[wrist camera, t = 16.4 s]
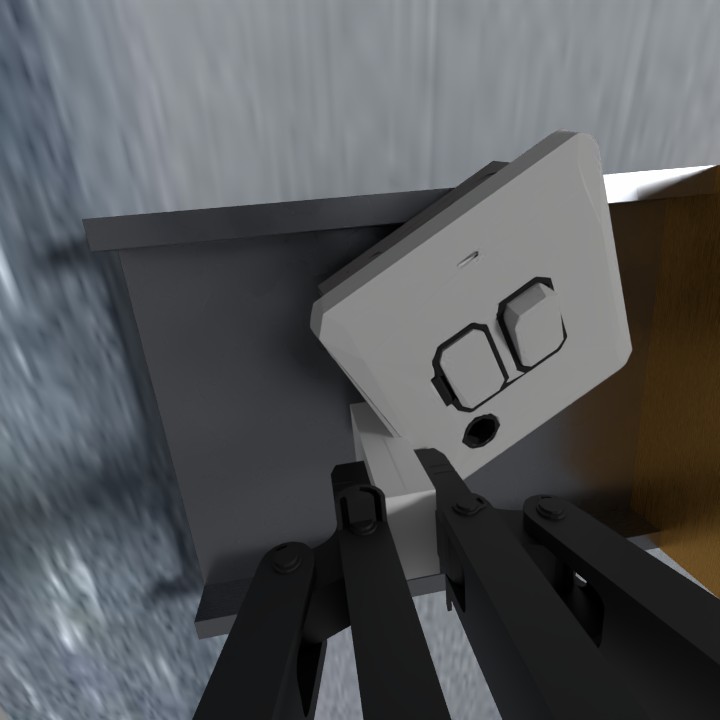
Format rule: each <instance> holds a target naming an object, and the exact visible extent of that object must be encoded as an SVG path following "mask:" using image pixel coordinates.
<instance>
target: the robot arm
mask: <svg viewBox="0 0 720 720" xmlns="http://www.w3.org/2000/svg"><path fill="white" fill-rule="evenodd" d="M350 410H351V419H352V427H353V436H354V445H355V453H356V462H351V463H345V464H339V465H335V467H334V469H333V471H332V473H331V481H332V488H333V496H334V505H335V513H336V520H337V527H336V530H335V532H334V533H333V535H332V536H331V537H330V538H329V539H328V540H327V541H326V542H324V543H322V544H320V545H319V546H317V547H314V548H312V549H311V548H310V547H309V546H308V545H306V544H304V543H302V542H295V541H293V542H286V543H282V544H280V545H278V546H275V547H273V548H272V549H271V550H270V551H268V552H267V553H266V554H265V555H264V557H263V558H262V560H261V561H260V563H259V566H258V568H257V570H256V572H255V575H254V577H253V579H252V582H251V584H250V586H249V589H248V591H247V593H246V596H245V598H244V600H243V603H242V605H241V607H240V610H239V612H238V614H237V617H236V619H235V621H234V624H233V626H232V628H231V631H230V633H229V635H228V638H227V640H226V642H225V645H224V647H223V649H222V652H221V654H220V656H219V659H218V661H217V663H216V665H215V668H214V670H213V672H212V675H211V677H210V679H209V682H208V684H207V686H206V689H205V691H204V693H203V696H202V698H201V700H200V703H199V705H198V707H197V710H196V712H195V714H194V717H193V719H192V720H314V716H315V710H316V705H317V699H318V694H319V688H320V682H321V677H322V671H323V665H324V660H325V654H326V648H327V639H328V638H329V637H331V636H333V635H335V634H336V633H338V632H340V631H342V630H343V629H345V628H347V627H349V626H350V625H351V630H352V638H353V645H354V653H355V660H356V667H357V675H358V682H359V689H360V697H361V704H362V712H363V719H364V720H451V717H450V714H449V711H448V708H447V705H446V702H445V699H444V696H443V692H442V689H441V686H440V683H439V680H438V677H437V674H436V671H435V668H434V664H433V661H432V658H431V655H430V652H429V649H428V646H427V643H426V640H425V637H424V633H423V630H422V627H421V624H420V621H419V618H418V615H417V612H416V609H415V605H414V602H413V599H412V596H411V593H410V590H409V587H408V584H407V581H406V580H409V579H414V578H419V577H424V576H429V575H434V574H439V573H440V564H439V559H440V561H441V563H442V565H443V567H444V570H445V583H446V604H447V609H448V611H451V610H452V604H451V601H452V602H453V605H454V607H455V609H456V612H457V614H458V616H459V619H460V621H461V623H462V626H463V628H464V630H465V633H466V635H467V638H468V640H469V642H470V645H471V647H472V649H473V652H474V654H475V656H476V659H477V661H478V663H479V666H480V668H481V670H482V673H483V675H484V677H485V680H486V682H487V684H488V687H489V689H490V691H491V694H492V696H493V698H494V701H495V703H496V706H497V708H498V710H499V713H500V715H501V717H502V720H720V599H718V598H717V597H715V596H714V595H712V594H710V593H709V592H707V591H706V590H704V589H703V588H701V587H700V586H698V585H697V584H695V583H694V582H692V581H690V580H689V579H687V578H686V577H684V576H683V575H681V574H680V573H678V572H677V571H675V570H674V569H672V568H670V567H669V566H667V565H666V564H664V563H663V562H661V561H660V560H658V559H657V558H655V557H654V556H652V555H650V554H649V553H647V552H646V551H644V550H643V549H641V548H640V547H638V546H637V545H635V544H634V543H632V542H630V541H629V540H627V539H626V538H624V537H623V536H621V535H620V534H618V533H617V532H615V531H614V530H612V529H610V528H609V527H607V526H606V525H604V524H603V523H601V522H600V521H598V520H597V519H595V518H594V517H592V516H590V515H589V514H587V513H586V512H584V511H583V510H581V509H580V508H578V507H577V506H575V505H574V504H572V503H570V502H569V501H567V500H565V499H563V498H561V497H557V496H553V495H543V494H539V495H534V496H531V497H529V498H528V499H526V500H525V502H524V504H523V510H505V509H497V508H494V507H493V506H492V505H491V503H490V502H489V501H488V500H486V499H485V498H484V497H482V496H480V495H478V494H475V493H471V491H470V490H469V488H468V487H467V486H466V484H465V483H464V481H463V480H462V478H461V477H460V476H459V474H458V473H457V471H455V468H454V467H453V466H452V464H450V461H449V460H448V458H447V457H446V456H445V454H443V453H442V452H440V451H438V450H437V449H435V448H430V449H423V450H417V451H414V450H413V448H412V447H411V445H410V443H409V441H408V440H407V438H406V437H395V438H394V436H393V435H392V434H391V432H390V431H389V430H388V429H387V427H386V426H385V425H384V423H383V422H382V421H381V419H380V418H379V417H378V415H377V414H376V413H375V412H374V410H373V409H372V408H371V406H370V405H369V404H368V402H362V403H356V404H350ZM576 573H577V574H579V575H580V576H581V577H582V578H583V579H585V580H586V581H587V583H585V582H583V581H581V580H580V579H579V578H578V577H576V576H575V575H576Z"/></svg>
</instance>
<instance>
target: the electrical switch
mask: <svg viewBox="0 0 720 720" xmlns="http://www.w3.org/2000/svg"><path fill="white" fill-rule="evenodd" d="M348 271H349V272H348ZM347 272H348V273H347ZM318 288H319V289H320V291H321V292H322V294H323V295H324V296H323V295H322V294H321V293H320V292H319V293H320V294H321V296H322V297H321V298H320V299H319V300H317V301H316V302H314V303H313V308H312V313H311V321H310V328H311V329H312V331H313V332H314V334H315V336H316V337H317V338H318V339H319V340H320V341H321V343H322V344H323V345H324V347H325V348H326V349H327V351H328V352H329V354H330V355H331V356H332V358H333V359H335V361H336V362H337V363H338V364H339V366H340V367H341V368H342V370H343V371H344V372H345V374H346V375H347V376H348V378H349V379H350V380H351V381H352V383H353V384H354V385H355V387H356V388H357V389H358V391H359V392H360V393H361V395H362V396H363V397H364V398H365V400H366V401H367V402H368V404H369V405H370V406H371V408H372V409H373V410H374V412H375V413H376V414H377V415H378V417H379V418H380V419H381V421H382V422H383V423H384V425H385V426H386V427H387V429H388V430H389V431H390V432H391V434H392V435H393V436H394V438H395V437H406V438H407V440H408V441H409V443H410V445H411V447H412V448H413V450H414V451H417V450H423V449H430V448H435V449H437V450H438V451H440V452H442V453H443V454H445V456H446V457H447V458H448V460H449V461H450V464H452V466H453V467H454V468H455V471H457V473H458V474H459V476H460V477H461V478H462V480H464V479H465V478H467V477H468V476H470V475H471V474H472V473H474V472H475V471H477V470H478V469H479V468H481V467H482V466H484V465H485V464H486V463H488V462H489V461H491V460H492V459H494V458H495V457H496V456H498V455H499V454H501V453H502V452H503V451H505V450H506V449H508V448H509V447H511V446H512V445H513V444H515V443H516V442H518V441H519V440H520V439H522V438H523V437H525V436H526V435H528V434H529V433H530V432H532V431H533V430H535V429H536V428H537V427H539V426H540V425H542V424H543V423H545V422H546V421H547V420H549V419H550V418H552V417H553V416H554V415H556V414H557V413H559V412H560V411H561V410H563V409H564V408H566V407H567V406H569V405H570V404H571V403H573V402H574V401H576V400H577V399H578V398H580V397H581V396H583V395H584V394H586V393H587V392H588V391H590V390H591V389H593V388H594V387H595V386H597V385H598V384H600V383H601V382H603V381H604V380H605V379H607V378H608V377H610V376H611V375H612V374H614V373H615V372H617V371H618V370H619V369H621V368H622V367H623V366H624V365H625V364H626V362H627V360H628V358H629V356H630V354H631V352H632V346H631V340H630V334H629V328H628V322H627V316H626V310H625V304H624V298H623V292H622V286H621V280H620V274H619V267H618V261H617V255H616V249H615V243H614V237H613V231H612V225H611V218H610V212H609V206H608V200H607V194H606V188H605V182H604V176H603V170H602V163H601V157H600V151H599V145H598V142H597V141H596V139H595V138H594V137H593V135H592V134H585V133H578V132H570V131H566V130H564V129H563V128H562V129H560V130H558V131H556V132H554V133H552V134H550V135H549V136H547V137H546V138H545V139H543V140H542V141H540V142H539V143H538V144H536V145H535V146H533V147H532V148H531V149H529V150H528V151H526V152H525V153H524V154H522V155H521V156H519V157H518V158H517V159H515V160H514V161H512V162H511V163H508V162H499V161H492V162H491V163H489V164H488V165H487V166H485V167H484V168H482V169H481V170H480V171H478V172H477V173H475V174H474V175H473V176H471V177H470V178H468V179H467V180H466V181H464V182H463V183H461V184H460V185H459V186H457V187H456V188H454V189H453V190H452V191H450V192H449V193H447V194H446V195H445V196H443V197H442V198H440V199H439V200H438V201H436V202H435V203H433V204H432V205H430V206H429V207H428V208H426V209H425V210H423V211H422V212H421V213H419V214H418V215H416V216H415V217H414V218H412V219H411V220H409V221H408V222H407V223H405V224H404V225H402V226H401V227H400V228H398V229H397V230H395V231H394V232H393V233H391V234H390V235H388V236H387V237H386V238H384V239H383V240H381V241H380V242H379V243H377V244H376V245H374V246H373V247H372V248H370V249H369V250H367V251H366V252H364V253H363V254H362V255H360V256H359V257H357V258H356V259H355V260H353V261H352V262H350V263H349V264H348V265H346V266H345V267H343V268H342V269H341V270H339V271H338V272H336V273H335V274H334V275H332V276H331V277H329V278H328V279H327V280H325V281H324V282H322V283H321V284H320V285H318Z"/></svg>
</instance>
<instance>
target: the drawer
mask: <svg viewBox="0 0 720 720" xmlns="http://www.w3.org/2000/svg"><path fill="white" fill-rule="evenodd" d="M603 176H604V182H605V188H606V194H607V200H608V206H609V212H610V218H611V225H612V231H613V237H614V243H615V249H616V255H617V261H618V267H619V274H620V280H621V286H622V292H623V298H624V304H625V310H626V316H627V322H628V328H629V334H630V340H631V346H632V352H631V354H630V356H629V358H628V360H627V362H626V364H625V365H624V366H623V367H622V368H621V369H619V370H618V371H617V372H615V373H614V374H612V375H611V376H610V377H608V378H607V379H605V380H604V381H603V382H601V383H600V384H598V385H597V386H595V387H594V388H593V389H591V390H590V391H588V392H587V393H586V394H584V395H583V396H581V397H580V398H578V399H577V400H576V401H574V402H573V403H571V404H570V405H569V406H567V407H566V408H564V409H563V410H561V411H560V412H559V413H557V414H556V415H554V416H553V417H552V418H550V419H549V420H547V421H546V422H545V423H543V424H542V425H540V426H539V427H537V428H536V429H535V430H533V431H532V432H530V433H529V434H528V435H526V436H525V437H523V438H522V439H520V440H519V441H518V442H516V443H515V444H513V445H512V446H511V447H509V448H508V449H506V450H505V451H503V452H502V453H501V454H499V455H498V456H496V457H495V458H494V459H492V460H491V461H489V462H488V463H486V464H485V465H484V466H482V467H481V468H479V469H478V470H477V471H475V472H474V473H472V474H471V475H470V476H468V477H467V478H465V479H464V480H463V481H464V483H465V484H466V486H467V487H468V488H469V490H470V491H471V493H475V494H478V495H480V496H482V497H484V498H485V499H486V500H488V501H489V502H490V503H491V505H492V506H493V507H494V508H497V509H505V510H523V504H524V502H525V500H526V499H528V498H529V497H531V496H534V495H539V494H543V495H553V496H557V497H561V498H563V499H565V500H567V501H569V502H570V503H572V504H574V505H575V506H577V507H578V508H580V509H581V510H583V511H584V512H586V513H587V514H589V515H590V516H592V517H594V518H595V519H597V520H598V521H600V522H601V523H603V524H604V525H606V526H607V527H609V528H610V529H612V530H614V531H615V532H617V533H618V534H620V535H621V536H623V537H624V538H626V539H627V540H629V541H630V542H632V543H634V544H635V545H637V546H638V547H640V548H641V549H643V550H649V549H654V548H660V549H661V550H662V551H663V552H664V553H666V554H667V555H668V556H669V557H670V558H672V559H673V560H674V561H675V562H676V563H677V564H679V565H680V566H681V567H682V568H683V569H685V570H686V571H687V572H688V573H689V574H690V575H692V576H693V577H694V578H695V579H696V580H698V581H699V582H700V583H701V584H702V585H704V586H705V587H706V588H707V589H708V590H709V591H711V592H712V593H713V594H714V595H715V596H717V597H718V598H719V599H720V165H717V166H705V167H693V168H682V169H670V170H658V171H646V172H634V173H623V174H611V175H603ZM453 189H454V188H446V189H434V190H422V191H410V192H398V193H387V194H375V195H363V196H351V197H339V198H328V199H316V200H304V201H292V202H280V203H269V204H257V205H245V206H233V207H221V208H210V209H198V210H186V211H174V212H162V213H151V214H139V215H127V216H115V217H103V218H92V219H82V221H83V225H84V228H85V232H86V236H87V239H88V243H89V246H90V250H91V251H118V254H119V258H120V262H121V266H122V270H123V273H124V277H125V281H126V285H127V289H128V293H129V297H130V300H131V304H132V308H133V312H134V316H135V320H136V323H137V327H138V331H139V335H140V339H141V343H142V347H143V350H144V354H145V358H146V362H147V366H148V370H149V374H150V377H151V381H152V385H153V389H154V393H155V397H156V401H157V404H158V408H159V412H160V416H161V420H162V424H163V427H164V431H165V435H166V439H167V443H168V447H169V451H170V454H171V458H172V462H173V466H174V470H175V474H176V478H177V481H178V485H179V489H180V493H181V497H182V501H183V504H184V508H185V512H186V516H187V520H188V524H189V528H190V531H191V535H192V539H193V543H194V547H195V551H196V555H197V558H198V562H199V566H200V570H201V574H202V578H203V581H204V585H205V587H204V590H203V594H202V597H201V601H200V604H199V608H198V611H197V615H196V618H195V622H194V623H195V627H196V631H197V634H198V638H199V639H204V638H209V637H214V636H219V635H224V634H229V633H230V631H231V628H232V626H233V624H234V621H235V619H236V617H237V614H238V612H239V610H240V607H241V605H242V603H243V600H244V598H245V596H246V593H247V591H248V589H249V586H250V584H251V582H252V579H253V577H254V575H255V572H256V570H257V568H258V566H259V563H260V561H261V560H262V558H263V557H264V555H265V554H266V553H267V552H268V551H270V550H271V549H272V548H273V547H275V546H278V545H280V544H282V543H286V542H293V541H295V542H302V543H304V544H306V545H308V546H309V547H310V548H311V549H312V548H314V547H317V546H319V545H320V544H322V543H324V542H326V541H327V540H328V539H329V538H330V537H331V536H332V535H333V533H334V532H335V530H336V527H337V520H336V513H335V505H334V496H333V488H332V481H331V473H332V471H333V469H334V467H335V465H339V464H345V463H351V462H356V453H355V445H354V436H353V427H352V419H351V410H350V404H356V403H362V402H367V401H366V400H365V398H364V397H363V396H362V395H361V393H360V392H359V391H358V389H357V388H356V387H355V385H354V384H353V383H352V381H351V380H350V379H349V378H348V376H347V375H346V374H345V372H344V371H343V370H342V368H341V367H340V366H339V364H338V363H337V362H336V361H335V359H333V358H332V356H331V355H330V354H329V352H328V351H327V349H326V348H325V347H324V345H323V344H322V343H321V341H320V340H319V339H318V338H317V337H316V336H315V334H314V332H313V331H312V329H311V328H310V321H311V313H312V308H313V303H314V302H316V301H317V300H319V299H320V298H321V297H322V296H321V294H322V292H321V291H320V289H319V288H318V285H320V284H321V283H322V282H324V281H325V280H327V279H328V278H329V277H331V276H332V275H334V274H335V273H336V272H338V271H339V270H341V269H342V268H343V267H345V266H346V265H348V264H349V263H350V262H352V261H353V260H355V259H356V258H357V257H359V256H360V255H362V254H363V253H364V252H366V251H367V250H369V249H370V248H372V247H373V246H374V245H376V244H377V243H379V242H380V241H381V240H383V239H384V238H386V237H387V236H388V235H390V234H391V233H393V232H394V231H395V230H397V229H398V228H400V227H401V226H402V225H404V224H405V223H407V222H408V221H409V220H411V219H412V218H414V217H415V216H416V215H418V214H419V213H421V212H422V211H423V210H425V209H426V208H428V207H429V206H430V205H432V204H433V203H435V202H436V201H438V200H439V199H440V198H442V197H443V196H445V195H446V194H447V193H449V192H450V191H452V190H453ZM348 272H349V271H348ZM348 272H347V273H348ZM319 292H320V293H321V294H320V293H319ZM322 295H323V294H322ZM323 296H324V295H323ZM439 564H440V573H439V574H434V575H429V576H424V577H419V578H414V579H409V580H406V581H407V584H408V587H409V590H410V593H411V596H412V597H414V596H419V595H424V594H429V593H434V592H439V591H444V590H446V583H445V570H444V567H443V565H442V563H441V561H440V559H439Z"/></svg>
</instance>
